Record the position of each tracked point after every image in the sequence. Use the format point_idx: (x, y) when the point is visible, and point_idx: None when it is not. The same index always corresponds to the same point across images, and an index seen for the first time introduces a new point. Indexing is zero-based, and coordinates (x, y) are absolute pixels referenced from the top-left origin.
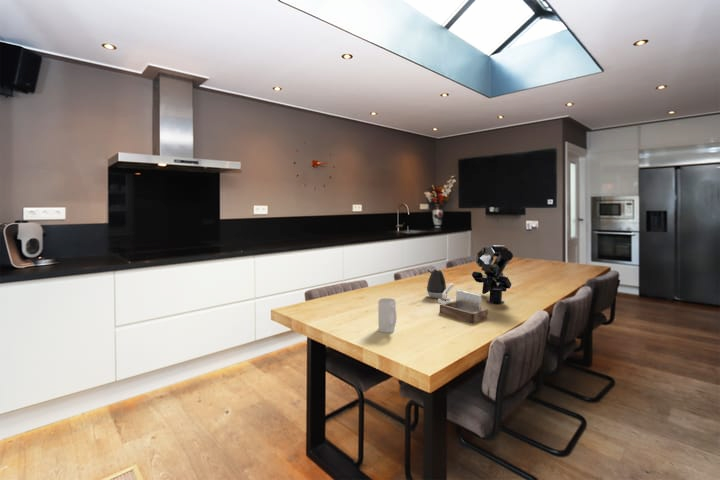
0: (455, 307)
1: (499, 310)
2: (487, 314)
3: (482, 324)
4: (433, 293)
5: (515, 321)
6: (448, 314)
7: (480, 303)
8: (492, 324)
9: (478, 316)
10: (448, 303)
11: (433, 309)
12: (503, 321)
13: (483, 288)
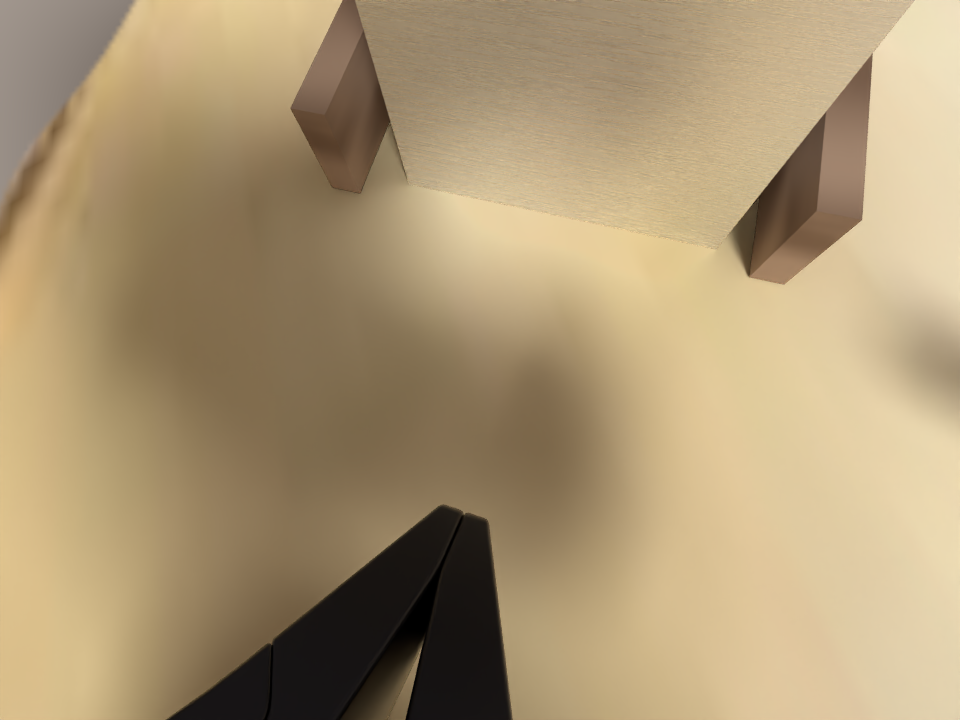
0: (768, 238)
1: (249, 616)
2: (316, 155)
3: None
4: None
5: (51, 260)
6: None
7: (370, 32)
8: (257, 59)
9: None
10: None
11: (957, 130)
12: (169, 190)
13: (460, 617)
